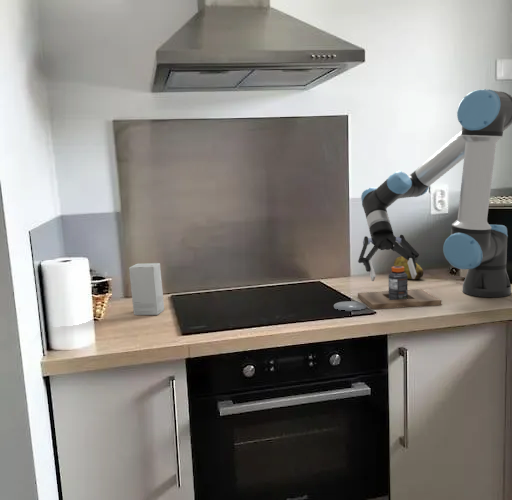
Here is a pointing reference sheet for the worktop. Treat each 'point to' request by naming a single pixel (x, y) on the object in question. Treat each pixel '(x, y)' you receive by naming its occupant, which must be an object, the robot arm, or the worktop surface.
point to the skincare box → (146, 289)
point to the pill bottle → (398, 283)
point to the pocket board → (414, 299)
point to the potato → (404, 262)
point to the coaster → (349, 305)
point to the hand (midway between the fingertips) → (394, 277)
